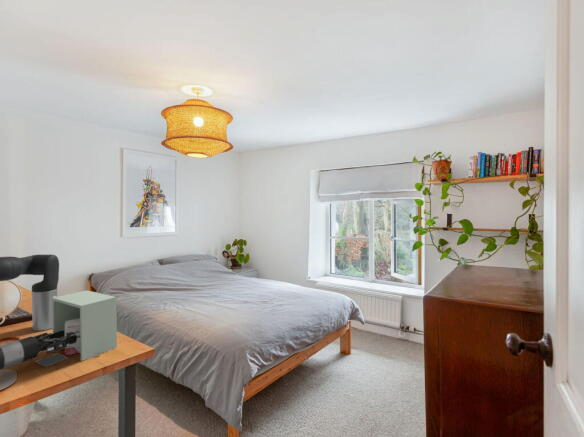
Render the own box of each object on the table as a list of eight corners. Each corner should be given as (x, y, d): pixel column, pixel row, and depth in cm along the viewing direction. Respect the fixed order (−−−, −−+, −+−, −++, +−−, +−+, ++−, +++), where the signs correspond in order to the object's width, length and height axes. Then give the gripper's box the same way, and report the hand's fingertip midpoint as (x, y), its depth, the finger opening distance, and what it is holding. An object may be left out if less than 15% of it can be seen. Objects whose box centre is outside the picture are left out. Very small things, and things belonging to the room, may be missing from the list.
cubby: (53, 348, 126) (52, 297, 125) (87, 337, 137) (86, 290, 136) (82, 361, 116) (81, 305, 115) (116, 347, 127) (116, 297, 127)
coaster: (35, 362, 115) (35, 360, 115) (57, 354, 121) (57, 353, 121) (45, 366, 112) (45, 365, 112) (67, 358, 118) (67, 357, 118)
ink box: (64, 356, 120) (64, 324, 120) (65, 350, 124) (64, 320, 124) (91, 350, 125) (91, 320, 124) (91, 345, 129) (90, 316, 128)
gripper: (27, 345, 104) (80, 329, 118) (7, 336, 111) (59, 322, 125) (27, 368, 104) (80, 349, 118) (7, 358, 111) (60, 341, 125)
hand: (69, 335), depth 122 cm, fingers open, 8 cm apart
